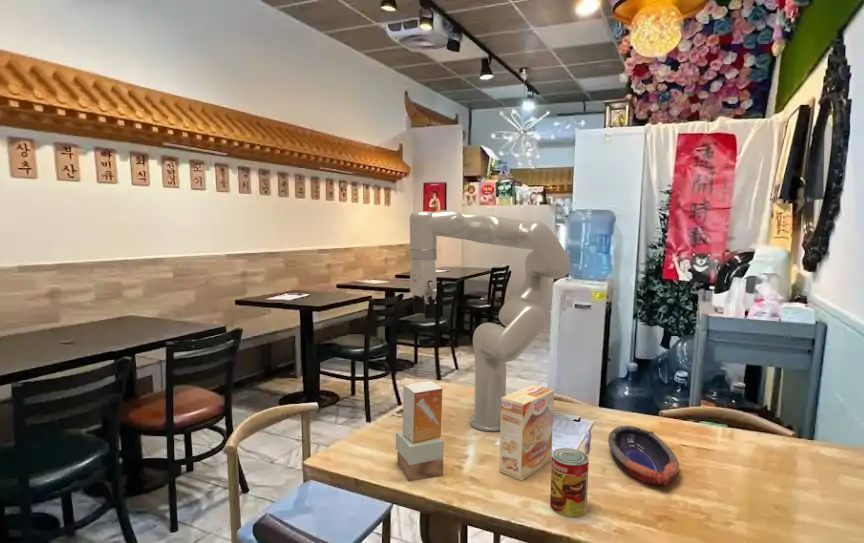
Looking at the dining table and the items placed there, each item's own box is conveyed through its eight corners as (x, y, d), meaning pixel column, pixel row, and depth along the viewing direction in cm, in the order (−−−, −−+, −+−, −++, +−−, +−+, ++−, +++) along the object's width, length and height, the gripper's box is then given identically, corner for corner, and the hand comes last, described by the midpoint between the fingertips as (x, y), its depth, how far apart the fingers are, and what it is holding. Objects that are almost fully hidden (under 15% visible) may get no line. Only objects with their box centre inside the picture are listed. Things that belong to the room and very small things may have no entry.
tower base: (430, 459, 139) (430, 442, 138) (442, 476, 130) (443, 459, 129) (397, 464, 136) (397, 447, 136) (408, 482, 127) (408, 465, 126)
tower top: (427, 442, 139) (427, 426, 138) (443, 458, 130) (443, 441, 129) (395, 448, 135) (395, 431, 135) (409, 465, 126) (409, 447, 126)
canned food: (545, 498, 119) (547, 448, 118) (579, 497, 120) (581, 447, 119) (556, 518, 112) (558, 465, 110) (592, 516, 112) (594, 463, 111)
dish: (655, 440, 151) (656, 424, 150) (692, 497, 121) (694, 476, 120) (600, 437, 153) (600, 421, 153) (623, 491, 123) (624, 471, 122)
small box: (413, 443, 127) (414, 392, 126) (401, 433, 133) (402, 384, 131) (441, 437, 131) (443, 387, 130) (429, 427, 137) (430, 380, 135)
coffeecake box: (521, 481, 127) (523, 404, 125) (497, 471, 132) (499, 397, 130) (552, 460, 138) (555, 389, 136) (529, 452, 143) (531, 383, 141)
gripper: (401, 253, 154) (402, 310, 156) (421, 258, 138) (422, 321, 140) (425, 252, 157) (426, 308, 158) (447, 257, 140) (448, 319, 142)
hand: (424, 314), depth 149 cm, fingers open, 9 cm apart
